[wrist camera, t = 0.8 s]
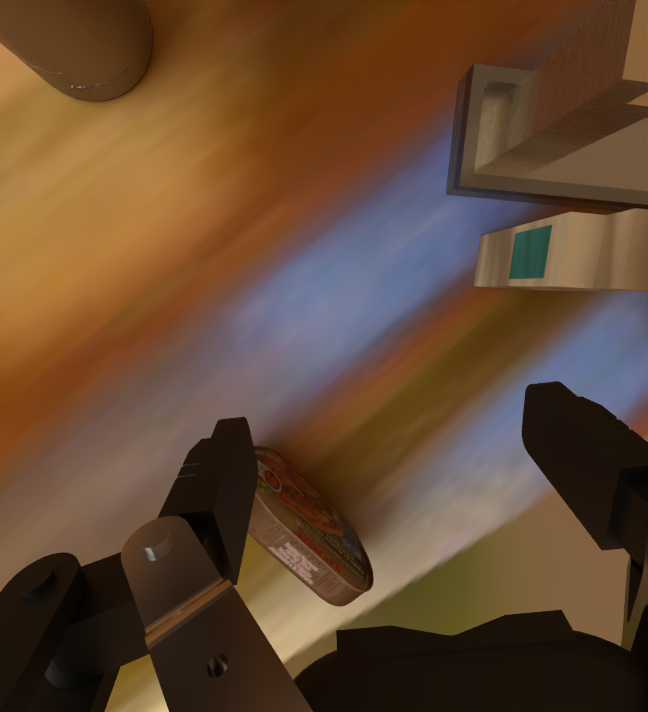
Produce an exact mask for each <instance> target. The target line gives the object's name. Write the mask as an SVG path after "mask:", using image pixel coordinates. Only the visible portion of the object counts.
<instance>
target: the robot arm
mask: <svg viewBox="0 0 648 712" xmlns="http://www.w3.org/2000/svg"><path fill="white" fill-rule="evenodd" d="M0 43H1V44H2V45H4V46H5V47H6V48H7V49H8V50H9V51H11V52H12V53H13V54H14V55H15V56H16V57H18V58H19V59H20V60H21V61H22V62H24V63H25V64H26V65H27V66H28V67H30V68H31V69H32V70H33V71H34V72H36V73H37V74H38V75H39V76H40V77H42V78H43V79H44V80H45V81H46V82H47V83H49V84H50V85H51V86H53V87H54V88H56V89H57V90H59V91H60V92H62V93H64V94H66V95H68V96H71V97H73V98H76V99H80V100H86V101H105V100H109V99H113V98H116V97H118V96H120V95H122V94H124V93H126V92H127V91H129V90H130V89H131V88H132V87H133V86H134V85H135V84H136V83H137V82H138V81H139V80H140V78H141V77H142V75H143V74H144V72H145V71H146V68H147V65H148V63H149V60H150V57H151V51H152V44H153V43H152V27H151V23H150V19H149V14H148V12H147V10H146V7H145V5H144V3H143V0H0ZM522 439H523V443H524V446H525V448H526V450H527V452H528V454H529V455H530V456H531V458H532V459H533V460H534V462H535V463H536V464H537V466H538V467H539V468H540V470H541V471H542V472H543V474H544V475H545V476H546V477H547V479H548V480H549V481H550V483H551V484H552V485H553V487H554V488H555V489H556V491H557V492H558V493H559V495H560V496H561V497H562V498H563V500H564V501H565V502H566V504H567V505H568V506H569V508H570V509H571V510H572V511H573V513H574V514H575V516H576V517H577V518H578V520H579V521H580V522H581V523H582V525H583V526H584V527H585V529H586V530H587V531H588V533H589V534H590V535H591V537H592V538H593V539H594V540H595V542H596V543H597V545H598V546H599V547H600V549H601V550H611V549H622V548H624V549H625V550H626V551H627V552H628V554H629V555H630V557H629V561H628V565H627V576H626V589H625V604H624V618H623V633H622V641H621V647H620V646H618V645H616V644H614V643H612V642H610V641H607V640H604V639H602V638H599V637H597V636H593V635H590V634H586V633H583V632H579V631H574V630H572V628H571V626H570V624H569V622H568V621H567V619H566V617H565V615H564V613H563V612H562V610H555V611H545V612H534V613H522V614H512V615H504V616H502V617H499V618H497V619H494V620H492V621H489V622H487V623H484V624H482V625H479V626H477V627H474V628H472V629H470V630H467V631H465V632H462V633H460V634H457V635H452V636H448V635H441V634H435V633H430V632H424V631H418V630H412V629H407V628H402V627H396V626H380V627H370V628H360V629H348V630H337V631H336V633H337V650H336V651H333V652H331V653H329V654H327V655H325V656H323V657H321V658H319V659H318V660H316V661H314V662H313V663H312V664H311V665H309V666H308V667H306V668H305V669H304V670H303V671H302V672H300V674H299V675H297V676H296V677H295V679H292V677H291V676H290V675H289V673H288V671H287V670H286V668H285V667H284V665H283V663H282V662H281V660H280V659H279V657H278V655H277V654H276V652H275V651H274V649H273V647H272V646H271V644H270V643H269V641H268V640H267V638H266V636H265V635H264V633H263V632H262V630H261V629H260V627H259V625H258V624H257V622H256V621H255V619H254V618H253V616H252V614H251V613H250V611H249V610H248V608H247V606H246V605H245V603H244V602H243V600H242V599H241V597H240V595H239V594H238V592H237V591H236V589H235V588H234V586H233V585H237V581H238V576H239V571H240V566H241V561H242V557H243V552H244V547H245V542H246V537H247V532H248V527H249V522H250V517H251V512H252V507H253V502H254V497H255V492H256V487H257V482H258V463H257V458H256V454H255V450H254V445H253V441H252V437H251V433H250V429H249V425H248V422H247V419H246V418H245V417H238V418H229V419H221V420H218V422H217V424H216V426H215V429H214V431H213V434H212V436H211V438H206V439H201V440H200V441H199V442H198V443H197V444H196V445H195V446H194V447H193V448H192V449H191V450H190V451H189V453H188V455H187V457H186V459H185V461H184V463H183V467H181V469H180V472H179V474H178V478H177V479H176V480H175V482H174V484H173V486H172V488H171V490H170V493H169V495H168V497H167V499H166V501H165V503H164V505H163V507H162V509H161V512H160V514H159V516H158V518H157V519H155V520H152V521H150V522H148V523H146V524H145V525H143V526H142V527H140V528H139V529H138V530H136V531H135V532H134V533H133V534H132V535H131V536H130V537H129V539H128V540H127V541H126V543H125V545H124V547H123V549H122V552H120V553H117V554H115V555H112V556H109V557H107V558H104V559H101V560H98V561H96V562H93V563H90V564H87V565H85V566H82V567H81V565H80V563H79V561H78V560H77V558H76V557H75V556H74V555H73V554H70V553H55V554H51V555H48V556H45V557H43V558H41V559H39V560H37V561H35V562H33V563H31V564H30V565H28V566H27V567H25V568H24V569H22V570H21V571H20V572H19V573H17V574H16V575H15V576H14V577H13V578H12V579H11V580H10V581H9V582H8V583H7V584H6V586H5V587H4V588H3V590H2V591H1V592H0V712H104V711H105V709H106V706H107V703H108V700H109V697H110V695H111V692H112V689H113V686H114V683H115V680H116V678H117V675H118V672H119V669H120V666H123V665H125V664H127V663H130V662H132V661H134V660H136V659H139V658H141V657H143V656H146V655H148V654H150V657H151V660H152V663H153V666H154V668H155V671H156V674H157V677H158V680H159V683H160V686H161V689H162V692H163V695H164V698H165V701H166V704H167V707H168V710H169V712H648V442H647V441H645V440H644V439H643V438H642V437H640V436H639V435H638V434H637V433H635V432H634V431H633V430H629V427H628V426H627V425H626V424H624V423H623V422H622V421H621V420H617V417H616V416H614V415H613V414H612V413H611V412H609V411H608V410H607V409H606V408H604V407H603V406H602V405H600V404H597V403H595V402H593V401H591V400H588V399H586V398H584V397H577V396H576V395H575V394H574V393H573V392H572V391H570V390H569V389H568V388H567V387H566V386H564V385H563V384H562V383H561V382H558V381H556V382H547V383H538V384H530V385H528V386H527V388H526V392H525V401H524V412H523V423H522Z"/></svg>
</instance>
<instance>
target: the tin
mask: <svg viewBox="0 0 648 712" xmlns="http://www.w3.org/2000/svg"><path fill="white" fill-rule="evenodd" d="M254 450H255V454H256V458H257V463H258V482H257V487H256V492H255V497H254V502H253V507H252V512H251V517H250V522H249V527H248V533H249V535H250V536H251V537H252V538H253V539H255V540H256V541H257V542H258V543H259V544H260V545H261V546H262V547H264V548H265V549H266V550H267V551H268V552H269V553H270V554H271V555H272V556H273V557H275V558H276V559H277V560H278V561H279V562H280V563H282V564H283V565H284V566H285V567H286V568H287V569H288V570H289V571H290V572H292V573H293V574H294V575H295V576H296V577H297V578H299V579H300V580H301V581H302V582H303V583H304V584H305V585H306V586H308V587H309V588H310V589H311V590H312V591H313V592H315V593H316V594H317V595H318V596H319V597H320V598H322V599H323V600H324V601H326V602H327V603H329V604H332V605H334V606H345V605H347V604H349V603H351V602H352V601H353V600H355V599H356V598H357V597H359V596H360V595H361V594H363V593H364V592H367V591H369V590H370V589H371V588H372V585H373V571H372V567H371V564H370V561H369V558H368V556H367V553H366V551H365V549H364V547H363V545H362V543H361V542H360V540H359V538H358V536H357V534H356V533H355V531H354V530H353V528H352V527H351V526H350V524H349V523H348V522H347V521H346V519H345V518H344V517H343V516H342V515H341V514H340V513H339V512H338V511H337V510H336V509H335V508H334V507H333V506H332V505H331V504H330V503H329V502H328V501H327V500H326V499H325V498H324V497H323V496H322V495H320V494H319V493H318V492H317V491H316V490H315V489H314V488H313V487H312V486H311V485H310V484H309V483H308V482H307V481H306V480H305V479H304V478H303V477H302V476H301V475H300V474H299V473H298V472H297V471H295V470H294V469H293V468H292V467H291V466H290V465H289V464H288V463H287V462H286V461H285V460H284V459H283V458H282V457H280V456H279V455H278V454H276V453H275V452H273V451H271V450H270V449H267V448H265V447H262V446H254Z"/></svg>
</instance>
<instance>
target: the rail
mask: <svg viewBox="0 0 648 712" xmlns="http://www.w3.org/2000/svg"><path fill="white" fill-rule="evenodd" d="M446 194H448V195H459V196H469V197H479V198H490V199H500V200H510V201H521V202H531V203H541V204H552V205H562V206H573V207H583V208H593V209H604V210H614V211H627V210H631V209H636V208H637V209H647V210H648V0H612V1H611V2H610V3H609V4H607V5H606V6H605V7H604V8H603V9H602V10H601V11H600V12H598V13H597V14H596V15H595V16H594V17H593V18H592V19H591V20H589V21H588V22H587V23H586V24H585V25H584V26H583V27H582V28H581V29H579V30H578V31H577V32H576V33H575V34H574V35H573V36H572V37H570V38H569V39H568V40H567V41H566V42H565V43H564V44H563V45H561V46H560V47H559V48H558V49H557V50H556V51H555V52H554V53H553V54H551V55H550V56H549V57H548V58H547V59H546V60H545V61H544V62H542V63H541V64H540V65H539V66H538V67H537V68H536V69H535V70H533V71H531V70H523V69H516V68H508V67H500V66H492V65H485V64H477V63H474V64H473V65H472V67H471V68H470V69H469V70H468V71H467V73H466V74H465V75H464V76H463V78H462V79H461V80H460V81H459V84H458V93H457V102H456V110H455V119H454V128H453V136H452V145H451V153H450V162H449V171H448V179H447V188H446Z"/></svg>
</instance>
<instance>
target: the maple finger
mask: <svg viewBox="0 0 648 712" xmlns="http://www.w3.org/2000/svg"><path fill="white" fill-rule="evenodd" d="M474 286H477V287H490V288H503V289H517V290H575V291H648V210H647V209H637V208H636V209H631V210H627V211H623V212H618V213H614V214H609V215H600V214H589V213H579V212H568V213H564V214H561V215H557V216H553V217H549V218H546V219H542V220H538V221H534V222H531V223H527V224H523V225H520V226H516V227H512V228H508V229H505V230H501V231H497V232H493V233H490V234H486V235H482V236H481V237H480V244H479V252H478V259H477V267H476V275H475V282H474Z"/></svg>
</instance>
